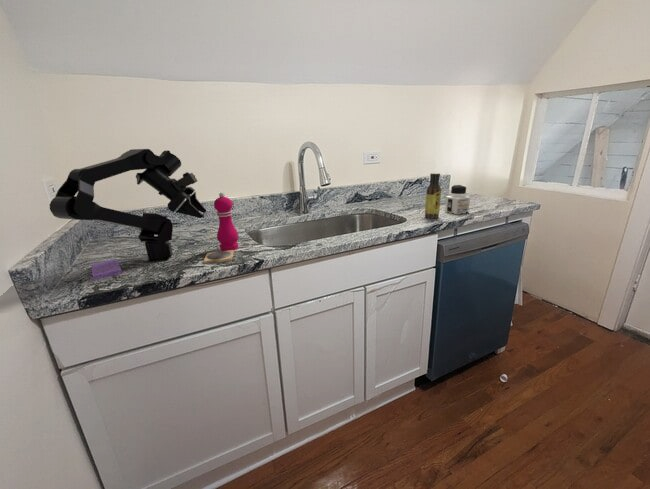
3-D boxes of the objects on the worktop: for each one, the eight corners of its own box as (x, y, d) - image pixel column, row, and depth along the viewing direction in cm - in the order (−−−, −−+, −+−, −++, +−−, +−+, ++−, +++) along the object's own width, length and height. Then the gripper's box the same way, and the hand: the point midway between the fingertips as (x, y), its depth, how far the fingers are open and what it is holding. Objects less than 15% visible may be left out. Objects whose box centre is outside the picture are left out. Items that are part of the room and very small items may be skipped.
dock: (203, 263, 97) (203, 261, 97) (207, 254, 105) (207, 252, 104) (231, 260, 98) (231, 258, 98) (233, 252, 106) (233, 249, 106)
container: (456, 214, 145) (459, 187, 141) (444, 211, 152) (446, 185, 148) (468, 212, 148) (471, 185, 144) (456, 209, 155) (458, 183, 151)
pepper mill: (232, 244, 115) (224, 190, 109) (244, 247, 111) (236, 191, 104) (214, 249, 110) (205, 193, 103) (226, 253, 105) (218, 194, 99)
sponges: (94, 281, 88) (92, 275, 88) (91, 269, 98) (90, 263, 97) (122, 274, 92) (121, 268, 92) (117, 263, 102) (116, 258, 101)
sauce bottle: (436, 219, 138) (440, 174, 132) (422, 218, 142) (425, 173, 135) (440, 216, 144) (444, 172, 137) (426, 215, 147) (429, 172, 141)
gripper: (172, 166, 90) (216, 200, 96) (184, 163, 108) (221, 193, 113) (148, 194, 91) (193, 227, 97) (163, 187, 108) (202, 215, 114)
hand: (204, 214), depth 105 cm, fingers open, 9 cm apart
